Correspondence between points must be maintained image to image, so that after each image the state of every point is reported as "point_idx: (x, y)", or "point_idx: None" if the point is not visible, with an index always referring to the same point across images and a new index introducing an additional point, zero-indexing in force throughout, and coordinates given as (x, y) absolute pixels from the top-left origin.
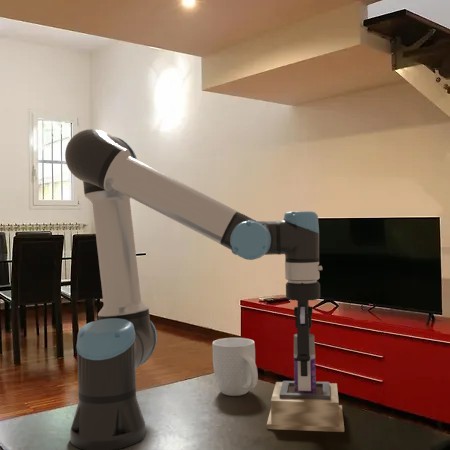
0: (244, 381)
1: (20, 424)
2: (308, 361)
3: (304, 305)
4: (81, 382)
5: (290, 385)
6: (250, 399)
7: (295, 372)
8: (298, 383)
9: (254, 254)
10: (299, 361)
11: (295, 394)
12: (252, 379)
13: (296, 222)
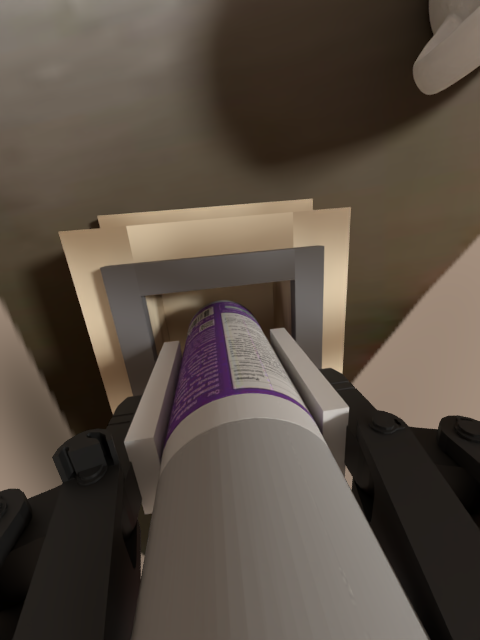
0: (472, 12)
1: None
2: (144, 499)
3: None
4: None
5: (291, 283)
6: (387, 95)
7: (196, 357)
8: (159, 357)
9: None
10: (129, 448)
11: (126, 335)
12: (427, 58)
13: None
